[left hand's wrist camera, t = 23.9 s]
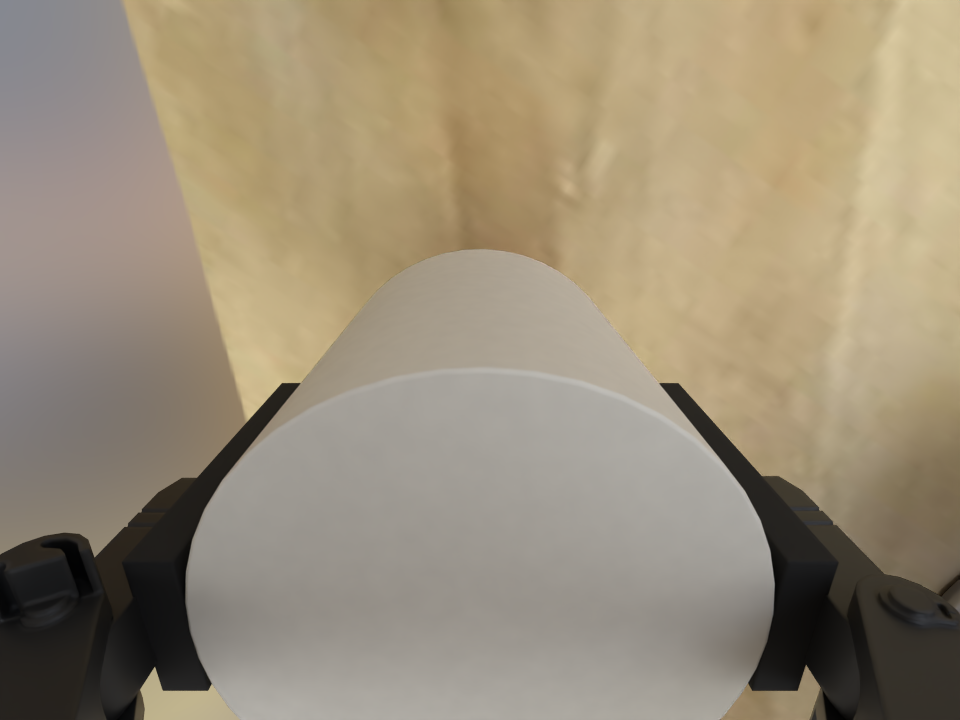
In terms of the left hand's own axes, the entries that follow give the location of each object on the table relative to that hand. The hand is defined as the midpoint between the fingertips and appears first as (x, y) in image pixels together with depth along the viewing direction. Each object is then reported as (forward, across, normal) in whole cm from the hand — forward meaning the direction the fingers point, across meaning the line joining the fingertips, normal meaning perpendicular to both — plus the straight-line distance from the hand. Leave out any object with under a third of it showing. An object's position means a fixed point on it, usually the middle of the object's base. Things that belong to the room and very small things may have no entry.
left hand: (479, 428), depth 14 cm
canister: (+3, 0, 0) cm, 3 cm away
